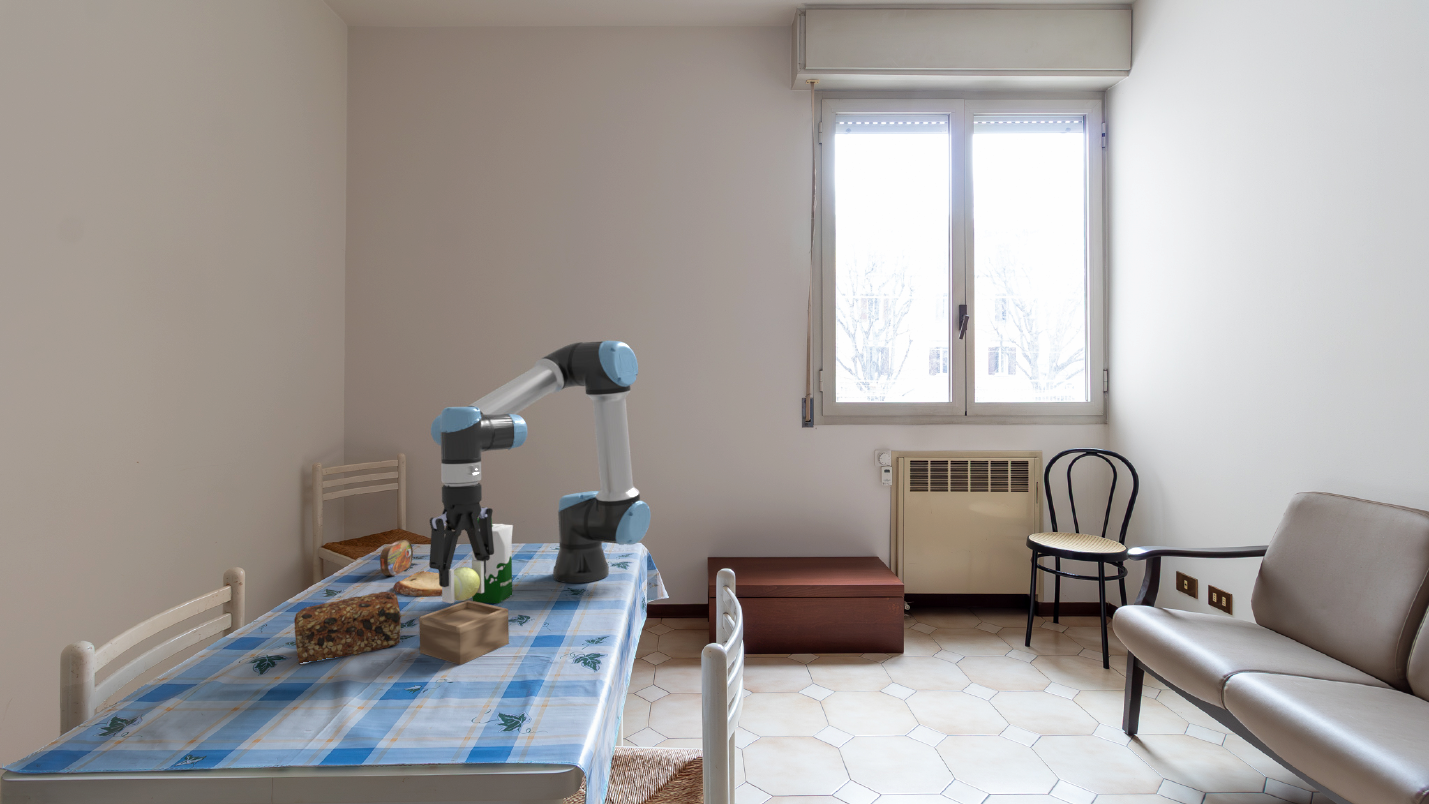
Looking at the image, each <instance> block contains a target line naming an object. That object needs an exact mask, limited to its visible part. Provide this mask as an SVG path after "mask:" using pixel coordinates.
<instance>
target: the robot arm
mask: <svg viewBox="0 0 1429 804" xmlns="http://www.w3.org/2000/svg"><path fill="white" fill-rule="evenodd" d="M638 374H639V365H638V359H637V356H636V355H635V352H634V351H633V349H632V348H630V346H629V345H628V344H627V343H625V342H624V341H619V340H618V341H617V340H603V341H587V342H585V341H584V342H581V341H580V342H574V343H570V344H567V345H565V346H562V347H560V348H558V349H557V350H554V351H552V352H551V353H549V354H548V355H545V356H543V357H541V358H540V359H538V360H537V361H536V362H535V363H534V365H533V367H532V368H531V369H528V370H527V371H526V372H523V373H522V374H520V375H519V376H517V377H515V378H513V379H512V380H510V381H508V382H507V383H505V384H503V385H501V386H500V387H498V388H497V389H494V390H492V391H491V392H489V393H488V394H486V395H484V396H483V397H481V398H480V399H478V400H475V401H474V402H472V403H471V404H469V405H467V406H451V407H450V406H449V407H445V408H443V409H442V410H441V412H440V413H441V414H439V415H438V416H436V417H435V418H434V419H433V421H432V423H431V426H430V434H431V438H432V440H433V441H434V443H435V444H437V445H439V446H440V456H441V463H440V465H441V467H440V468H441V469H440V470H441V474H440V476H441V480H440V481H441V483H442V484H443V485H442V486H441V502H442V505H443V510H442V513H441V515H439V516H437V517H430V519H429V525H430V530H431V533H430V534H431V535H430V549H429V563H428V564H429V568H430V569H434V570H437V571H438V573H439V585H440V586H441V587H442V596H441V598H442V599H441V601H442V602H443V603H448V604H454V603H455V602H456V600H455V596H454V570H455V569H453V568H451V567H452V564H453V559H454V555H455V552H456V548H457V544H458V540H459V537H460V536H461V535H462V531H465V532H466V534H467V538H468V539H469V543H470V546H471V551H472V550H473V553H474V556H475V558H476V559H477V560H472V559H471V569H473V570H474V571H475V572H476V573H477V574H478V576H479V578H480V585H479V589H478V591H477V593H484V575H485V574H486V560H487V561H488V560H489V559H490V555H493V554H494V544H493V534H492V524H493V522H492V523H491V518H493V517H492V516H493V508H491V507H490V508H489V507H482V506H481V504H480V502H481V501H482V499H483V498H482V492H483V490H482V484H481V483H480V481H481V480H482V452H490V451H499V450H501V451H502V450H509V451H510V450H511V449H515V448H519V447H521V446H523V444H525V442H526V440H527V438H528V425H527V423H526V421H525V419H524V418H523V417H522V416H521V415H519V413H520V412H522V411H524V410H525V409H526V408H528V407H529V406H531V405H532V404H534V403H535V402H537V401H539V400H540V399H542V398H543V397H545V396H547V395H548V394H550V393H551V394H556V393H559V392H561V391H562V390H564V389H567V388H571V387H572V388H573V387H584V389H585V396H586V397H588V399H590V400H591V401H592V408H593V409H592V411H593V419H594V420H593V421H594V431H595V443H596V452H597V454H596V455H597V463H598V473H599V482H600V484H599V485H600V486H599V487H600V490H592V491H583V492H576V493H570V494H565V495H563V496H561V497H560V499H559V501H558V511H557V514H558V540H559V543H558V544H559V550H558V552H557V553H558V554H557V555H556V560H555V565H554V566H553V572H552V573H553V574H552V575H553V576H552V577H553V579H554V580H555V581H558V582H561V583H567V584H569V583H570V584H579V583H580V584H581V583H582V584H583V583H590V582H595V581H599V580H603V579H605V578H606V577H608V576H609V575H610V574H609V572H610V571H609V564H608V562H607V560H606V555H605V552H604V548H603V546H602V545H603V542H604V543H611V544H616V545H621V546H624V545H627V546H632V545H636V544H637V543H639V542H641V541H642V540H643V539H644V537H645V536H646V534H647V531H648V529H649V527H650V523H651V509H650V507H649V505H648V503H646V502H645V501H644V500H641V496H640V490H639V489H637V488H636V487H635V486H634V481H633V468H632V460H631V459H632V458H631V447H630V436H629V423H628V413H627V401H626V398H627V396H628V395H629V394H630V393H631V386H632V385H633V384H634V383H635V382H636V380H637V376H638ZM478 518H479V523H478V520H477V519H478ZM479 529H480V531H479Z"/></svg>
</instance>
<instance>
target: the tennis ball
mask: <svg viewBox="0 0 1429 804" xmlns="http://www.w3.org/2000/svg"><path fill="white" fill-rule="evenodd" d="M453 570H454V596H455V601H462V602H463V601H467V600H470V599H471V598H472V596H474V595H475V594H476V592H477V591H478V589H479V585H480V578H479V576H478V574H477V573H476V572H475V571H474V570H473V569H472V567H468V566H460V567H457V568H454V569H453Z"/></svg>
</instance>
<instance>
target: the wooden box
mask: <svg viewBox="0 0 1429 804" xmlns="http://www.w3.org/2000/svg"><path fill="white" fill-rule="evenodd" d="M418 621H419V622H418V623H419V624H418V625H419V653H420V654H422V655H427V656H429V657H433V658H435V659H439V660H442V661H446V662H450V663H453V664H456V665H460V666H461V665H464V664H466V663H468V662H471V661H472V660H475V659H478V658H479V657H482V656H485V655H486V654H489V653H491V652H494V651H495V650H497V649H500V648H502V647H504V646H506V645H509V644H510V637H509V635H510V633H509V632H510V631H509V628H510V627H509V609H508V608H505V607H501V606H497V605H492V604H489V603H480V602H475V601H472V600H471V599H467V600H463V601H462V602H458V603H456V604H453V605H450V606H448V607H444V608H442V609H439V610H436V611H433V612H430V613H427V614H424V615H421V616H419V618H418Z"/></svg>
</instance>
